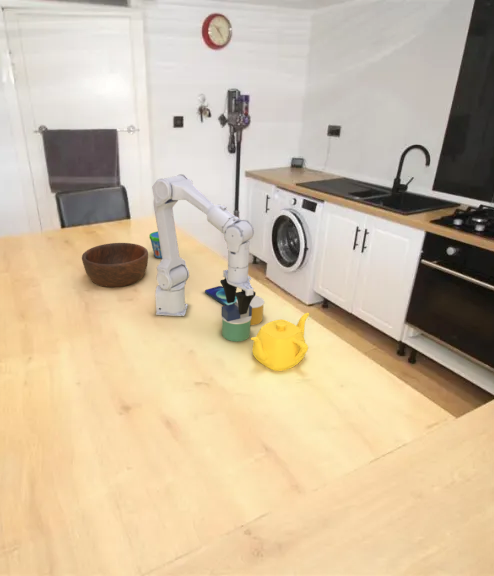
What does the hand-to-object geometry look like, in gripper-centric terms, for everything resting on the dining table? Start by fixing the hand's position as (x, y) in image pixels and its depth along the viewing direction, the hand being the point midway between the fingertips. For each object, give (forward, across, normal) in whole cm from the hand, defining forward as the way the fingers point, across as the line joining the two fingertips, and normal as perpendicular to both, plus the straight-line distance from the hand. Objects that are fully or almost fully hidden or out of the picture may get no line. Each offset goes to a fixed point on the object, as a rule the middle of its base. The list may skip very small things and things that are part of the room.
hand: (236, 307), depth 119 cm
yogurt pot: (+9, 0, 0) cm, 9 cm away
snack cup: (+9, +72, -1) cm, 73 cm away
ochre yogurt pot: (+9, +7, -8) cm, 14 cm away
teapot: (+9, -17, -5) cm, 20 cm away
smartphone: (+9, +23, -8) cm, 26 cm away
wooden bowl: (+9, +57, +23) cm, 62 cm away
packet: (+3, 0, 0) cm, 3 cm away
